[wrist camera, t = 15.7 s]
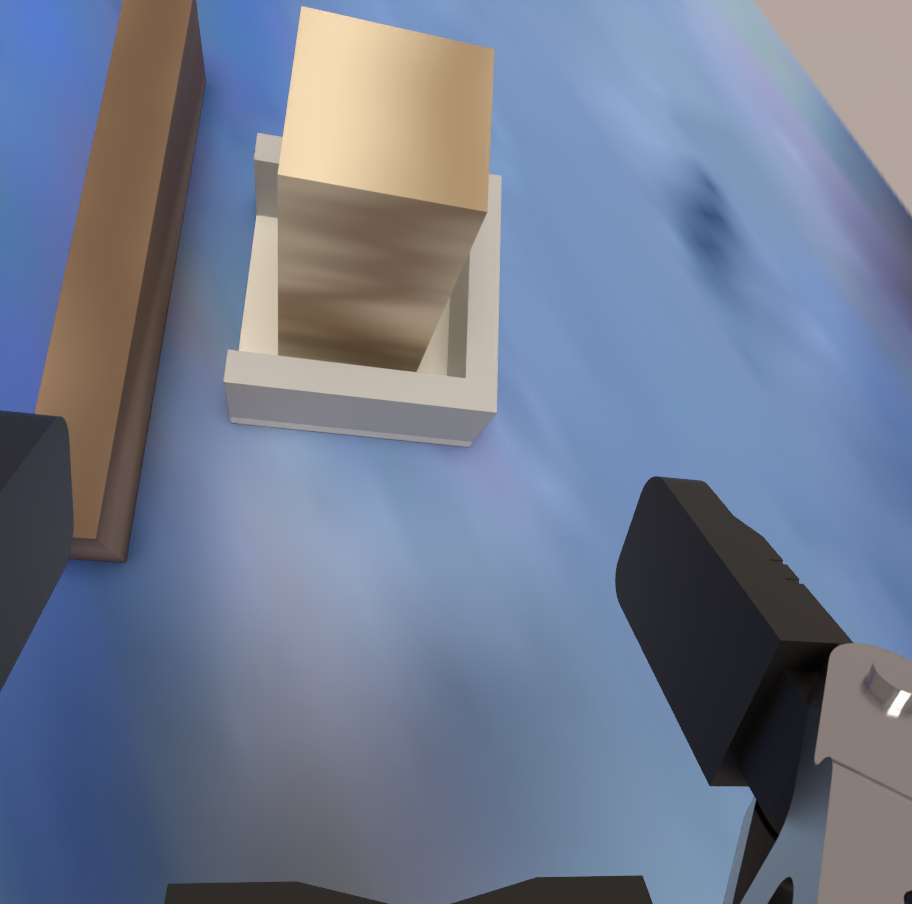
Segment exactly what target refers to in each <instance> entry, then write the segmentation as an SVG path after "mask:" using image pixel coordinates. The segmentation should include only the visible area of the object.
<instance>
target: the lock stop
mask: <svg viewBox="0 0 912 904" xmlns="http://www.w3.org/2000/svg"><path fill="white" fill-rule="evenodd" d="M493 69H494V49H491V48H486V47H482V46H477V45H473V44H468V43H464V42H460V41H455V40H451V39H446V38H442V37H437V36H433V35H428V34H424V33H419V32H415V31H410V30H406V29H401V28H397V27H392V26H388V25H383V24H379V23H374V22H370V21H366V20H361V19H357V18H352V17H348V16H343V15H339V14H334V13H330V12H325V11H321V10H316V9H312V8H307V7H303V6H302V7H301V14H300V21H299V28H298V35H297V42H296V49H295V56H294V63H293V70H292V77H291V84H290V91H289V98H288V105H287V112H286V119H285V126H284V133H283V140H282V147H281V154H280V161H279V168H278V356H285V357H294V358H302V359H310V360H318V361H327V362H335V363H343V364H352V365H360V366H368V367H376V368H385V369H393V370H401V371H409V372H417V370H418V367H419V365H420V363H421V361H422V358H423V356H424V354H425V352H426V349H427V347H428V345H429V343H430V340H431V338H432V336H433V334H434V331H435V329H436V327H437V325H438V322H439V320H440V318H441V315H442V313H443V311H444V309H445V306H446V304H447V302H448V300H449V297H450V295H451V293H452V291H453V288H454V286H455V284H456V282H457V279H458V277H459V275H460V273H461V270H462V268H463V266H464V264H465V261H466V259H467V257H468V255H469V252H470V250H471V248H472V246H473V243H474V241H475V239H476V237H477V234H478V232H479V230H480V228H481V225H482V223H483V221H484V219H485V216H486V214H487V210H488V186H489V163H490V140H491V116H492V93H493Z"/></svg>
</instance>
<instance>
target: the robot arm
mask: <svg viewBox="0 0 912 904" xmlns="http://www.w3.org/2000/svg"><path fill="white" fill-rule="evenodd" d="M73 531H74V513H73V495H72V478H71V460H70V442H69V431H68V426H67V423H66V421H65V419H64V418H63V417H61V416H51V415H40V414H30V413H20V412H10V411H0V691H1V689H2V688H3V686H4V684H5V682H6V680H7V678H8V676H9V674H10V672H11V670H12V668H13V666H14V665H15V663H16V661H17V659H18V657H19V655H20V653H21V651H22V649H23V647H24V645H25V644H26V642H27V640H28V638H29V636H30V634H31V632H32V630H33V628H34V626H35V624H36V622H37V621H38V619H39V617H40V615H41V613H42V611H43V609H44V607H45V605H46V603H47V601H48V600H49V598H50V596H51V594H52V592H53V590H54V588H55V586H56V584H57V582H58V580H59V578H60V577H61V575H62V573H63V571H64V569H65V567H66V564H67V561H68V558H69V555H70V551H71V546H72V540H73ZM782 562H783V560H782V558H781V557H780V556H779V555H778V554H777V553H776V551H775V550H774V549H773V548H772V547H771V546H770V544H769V543H768V542H767V541H766V540H765V538H764V537H763V536H761V535H760V534H758V533H757V532H756V531H754V530H753V529H751V528H750V527H748V526H747V525H746V524H744V523H743V522H741V521H740V520H739V519H737V518H736V517H734V516H733V515H732V513H731V512H730V511H729V510H728V509H727V507H726V506H725V505H724V504H723V503H722V501H721V500H720V499H719V498H718V496H717V495H716V494H715V493H714V492H713V490H712V489H711V488H710V487H709V486H708V485H707V484H706V483H705V482H703V481H698V480H688V479H678V478H668V477H658V476H655V477H652V478H650V479H649V480H648V481H647V483H646V484H645V486H644V488H643V490H642V492H641V495H640V498H639V501H638V504H637V507H636V510H635V513H634V516H633V519H632V521H631V524H630V527H629V530H628V533H627V536H626V539H625V542H624V545H623V548H622V551H621V554H620V557H619V560H618V563H617V568H616V578H615V584H616V593H617V598H618V601H619V604H620V606H621V608H622V610H623V612H624V614H625V616H626V618H627V620H628V622H629V624H630V626H631V628H632V630H633V632H634V634H635V636H636V638H637V640H638V642H639V644H640V646H641V648H642V650H643V653H644V655H645V657H646V659H647V661H648V663H649V665H650V667H651V669H652V671H653V673H654V675H655V677H656V679H657V681H658V683H659V685H660V687H661V689H662V691H663V693H664V695H665V697H666V699H667V701H668V703H669V705H670V707H671V709H672V711H673V713H674V715H675V717H676V719H677V721H678V723H679V725H680V727H681V729H682V731H683V733H684V735H685V737H686V739H687V741H688V743H689V745H690V747H691V749H692V751H693V753H694V755H695V757H696V760H697V762H698V764H699V766H700V768H701V770H702V772H703V774H704V776H705V778H706V780H707V782H708V784H709V786H749V787H750V789H751V791H752V793H753V795H754V798H753V800H752V802H751V804H750V806H749V807H748V809H747V811H746V813H745V816H744V819H743V823H742V827H741V831H740V835H739V840H738V844H737V848H736V852H735V856H734V860H733V864H732V868H731V873H730V877H729V881H728V885H727V889H726V893H725V897H724V901H723V904H912V661H910V660H908V659H906V658H904V657H902V656H900V655H898V654H896V653H893V652H891V651H888V650H886V649H883V648H879V647H876V646H872V645H867V644H860V643H853V642H852V641H851V639H850V638H849V637H848V636H847V635H846V634H845V632H844V631H843V630H842V629H841V628H840V627H839V625H838V624H837V623H836V622H835V621H834V619H833V618H832V617H831V616H830V615H829V614H828V612H827V611H826V610H825V609H824V608H823V607H822V605H821V604H820V603H819V602H818V601H817V600H816V598H815V597H814V596H813V595H812V594H811V592H810V591H809V590H808V589H807V588H806V587H805V585H804V584H799V578H798V577H797V576H796V575H795V574H794V573H793V571H792V570H791V569H790V568H789V567H788V565H785V564H783V563H782ZM164 904H387V903H383V902H379V901H375V900H370V899H366V898H362V897H358V896H354V895H350V894H346V893H341V892H337V891H333V890H329V889H325V888H321V887H317V886H312V885H308V884H304V883H300V882H248V883H191V884H168V888H167V893H166V898H165V903H164ZM452 904H653V903H652V901H651V898H650V895H649V892H648V890H647V887H646V884H645V881H644V879H643V876H590V877H537V878H533V879H530V880H527V881H524V882H520V883H517V884H514V885H511V886H507V887H504V888H501V889H498V890H494V891H491V892H488V893H485V894H482V895H478V896H475V897H472V898H469V899H465V900H462V901H459V902H456V903H452Z"/></svg>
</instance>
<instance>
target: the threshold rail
mask: <svg viewBox="0 0 912 904" xmlns="http://www.w3.org/2000/svg"><path fill="white" fill-rule="evenodd" d="M205 82H206V79H205V71H204V62H203V54H202V46H201V38H200V29H199V21H198V13H197V5H196V0H123V5H122V9H121V14H120V19H119V23H118V28H117V33H116V37H115V42H114V47H113V51H112V56H111V61H110V65H109V70H108V74H107V79H106V84H105V88H104V93H103V98H102V102H101V107H100V112H99V116H98V121H97V126H96V130H95V135H94V140H93V144H92V149H91V154H90V158H89V163H88V168H87V172H86V177H85V181H84V186H83V191H82V195H81V200H80V205H79V209H78V214H77V219H76V223H75V228H74V233H73V237H72V242H71V247H70V251H69V256H68V261H67V265H66V270H65V275H64V279H63V284H62V288H61V293H60V298H59V302H58V307H57V312H56V316H55V321H54V326H53V330H52V335H51V340H50V344H49V349H48V354H47V358H46V363H45V368H44V372H43V377H42V382H41V386H40V391H39V395H38V400H37V405H36V409H35V414H40V415H51V416H61V417H63V418H64V419H65V421H66V423H67V426H68V431H69V442H70V460H71V478H72V495H73V513H74V531H73V540H72V546H71V551H70V555H69V558H68V559H81V560H96V561H111V562H126V558H127V552H128V546H129V540H130V534H131V528H132V522H133V515H134V509H135V503H136V497H137V491H138V485H139V479H140V473H141V467H142V461H143V455H144V449H145V443H146V437H147V431H148V425H149V419H150V413H151V407H152V401H153V395H154V389H155V383H156V377H157V371H158V365H159V359H160V353H161V347H162V341H163V335H164V329H165V323H166V317H167V311H168V305H169V299H170V293H171V287H172V281H173V275H174V269H175V263H176V257H177V251H178V245H179V239H180V233H181V227H182V221H183V215H184V209H185V202H186V196H187V190H188V184H189V178H190V172H191V166H192V160H193V154H194V148H195V142H196V136H197V130H198V124H199V118H200V112H201V106H202V100H203V94H204V88H205Z"/></svg>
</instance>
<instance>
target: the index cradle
mask: <svg viewBox="0 0 912 904" xmlns="http://www.w3.org/2000/svg"><path fill="white" fill-rule="evenodd" d="M282 140H283V137H278V136H273V135H267V134H261V133H258V134H257V141H256V149H255V156H254V170H255V191H256V212H257V216H256V224H255V231H254V239H253V246H252V254H251V261H250V269H249V276H248V284H247V291H246V299H245V307H244V314H243V322H242V329H241V337H240V344H239V351H236V350H228V353H227V360H226V367H225V375H224V387H225V393H226V398H227V404H228V409H229V415H230V420H231V423H238V424H248V425H258V426H267V427H277V428H287V429H297V430H307V431H316V432H326V433H336V434H346V435H355V436H365V437H375V438H385V439H395V440H404V441H414V442H424V443H434V444H443V445H453V446H463V447H469V446H470V445H471V444H472V443H473V441H474V440H475V439H476V438H477V436H478V435H479V434H480V433H481V431H482V430H483V429H484V428H485V427H486V425H487V424H488V423H489V422H490V420H491V419H492V418H493V417H494V415H495V414H496V413H497V374H498V324H499V275H500V225H501V176H498V175H493V174H489V186H488V210H487V214H486V216H485V219H484V221H483V223H482V225H481V228H480V230H479V232H478V234H477V237H476V239H475V241H474V243H473V246H472V248H471V250H470V252H469V255H468V257H467V259H466V261H465V264H464V266H463V268H462V270H461V273H460V275H459V277H458V279H457V282H456V284H455V286H454V288H453V291H452V293H451V295H450V297H449V300H448V302H447V304H446V306H445V309H444V311H443V313H442V315H441V318H440V320H439V322H438V325H437V327H436V329H435V331H434V334H433V336H432V338H431V340H430V343H429V345H428V347H427V349H426V352H425V354H424V356H423V358H422V361H421V363H420V365H419V367H418V370H417V372H409V371H401V370H393V369H385V368H376V367H368V366H360V365H352V364H343V363H335V362H327V361H318V360H310V359H302V358H294V357H285V356H278V168H279V161H280V154H281V147H282Z"/></svg>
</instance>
